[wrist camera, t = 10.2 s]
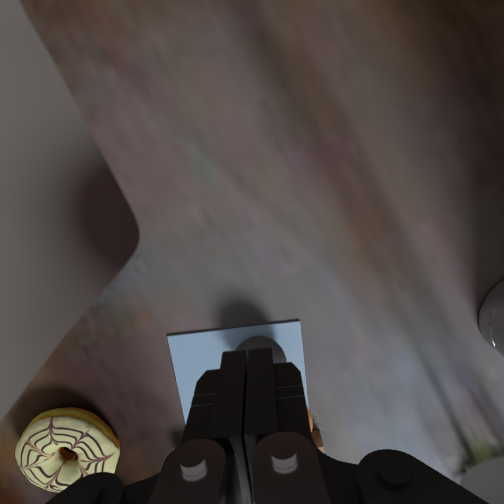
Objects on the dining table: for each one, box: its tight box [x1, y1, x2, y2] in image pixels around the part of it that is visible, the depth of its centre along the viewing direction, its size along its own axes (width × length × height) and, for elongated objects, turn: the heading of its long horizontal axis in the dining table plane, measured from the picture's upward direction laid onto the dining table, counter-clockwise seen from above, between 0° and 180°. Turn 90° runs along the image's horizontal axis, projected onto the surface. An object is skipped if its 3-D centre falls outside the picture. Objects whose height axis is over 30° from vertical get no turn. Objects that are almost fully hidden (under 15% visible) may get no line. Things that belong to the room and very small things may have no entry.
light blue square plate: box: [167, 321, 309, 424], centre depth 43 cm, size 14×14×1 cm
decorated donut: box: [15, 407, 120, 493], centre depth 43 cm, size 10×11×4 cm
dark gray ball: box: [236, 336, 287, 363], centre depth 39 cm, size 6×6×6 cm
